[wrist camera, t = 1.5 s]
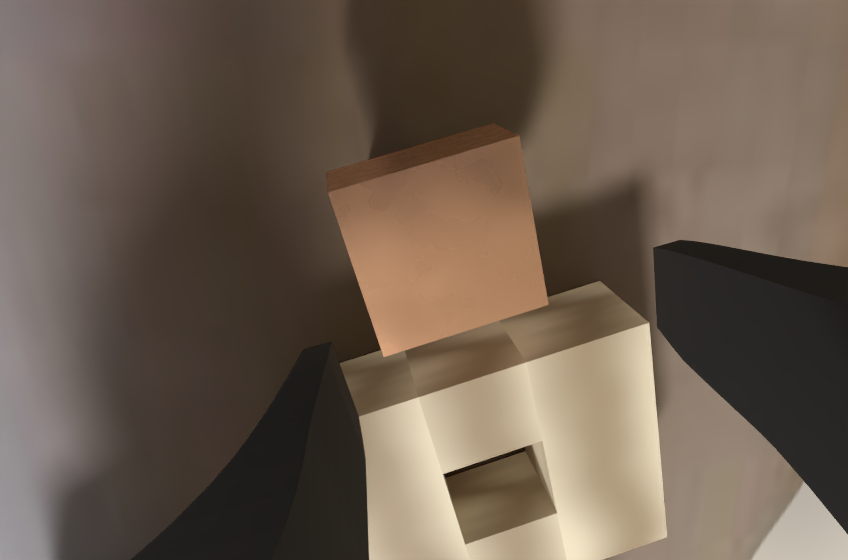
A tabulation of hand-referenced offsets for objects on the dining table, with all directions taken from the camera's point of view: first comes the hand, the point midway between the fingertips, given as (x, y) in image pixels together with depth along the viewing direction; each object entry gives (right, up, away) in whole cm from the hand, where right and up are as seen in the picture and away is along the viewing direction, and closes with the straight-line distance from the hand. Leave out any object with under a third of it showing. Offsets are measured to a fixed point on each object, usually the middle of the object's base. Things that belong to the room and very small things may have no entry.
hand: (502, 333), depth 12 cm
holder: (+1, -6, +15) cm, 16 cm away
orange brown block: (-2, +4, +9) cm, 11 cm away
